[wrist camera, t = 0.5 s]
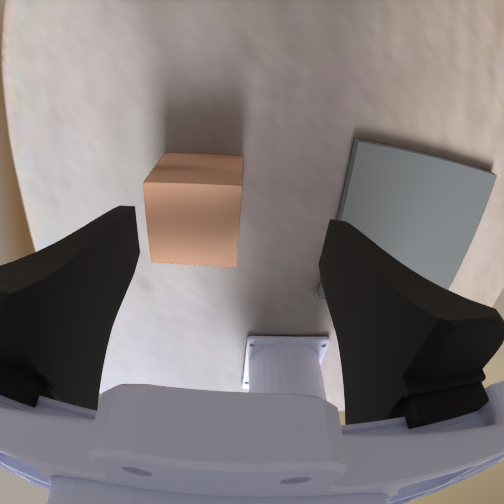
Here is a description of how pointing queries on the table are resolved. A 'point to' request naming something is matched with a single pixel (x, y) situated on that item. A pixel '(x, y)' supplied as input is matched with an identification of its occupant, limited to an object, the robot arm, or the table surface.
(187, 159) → the cube
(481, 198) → the slate mat
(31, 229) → the table surface
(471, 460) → the robot arm
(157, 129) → the table surface
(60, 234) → the table surface
